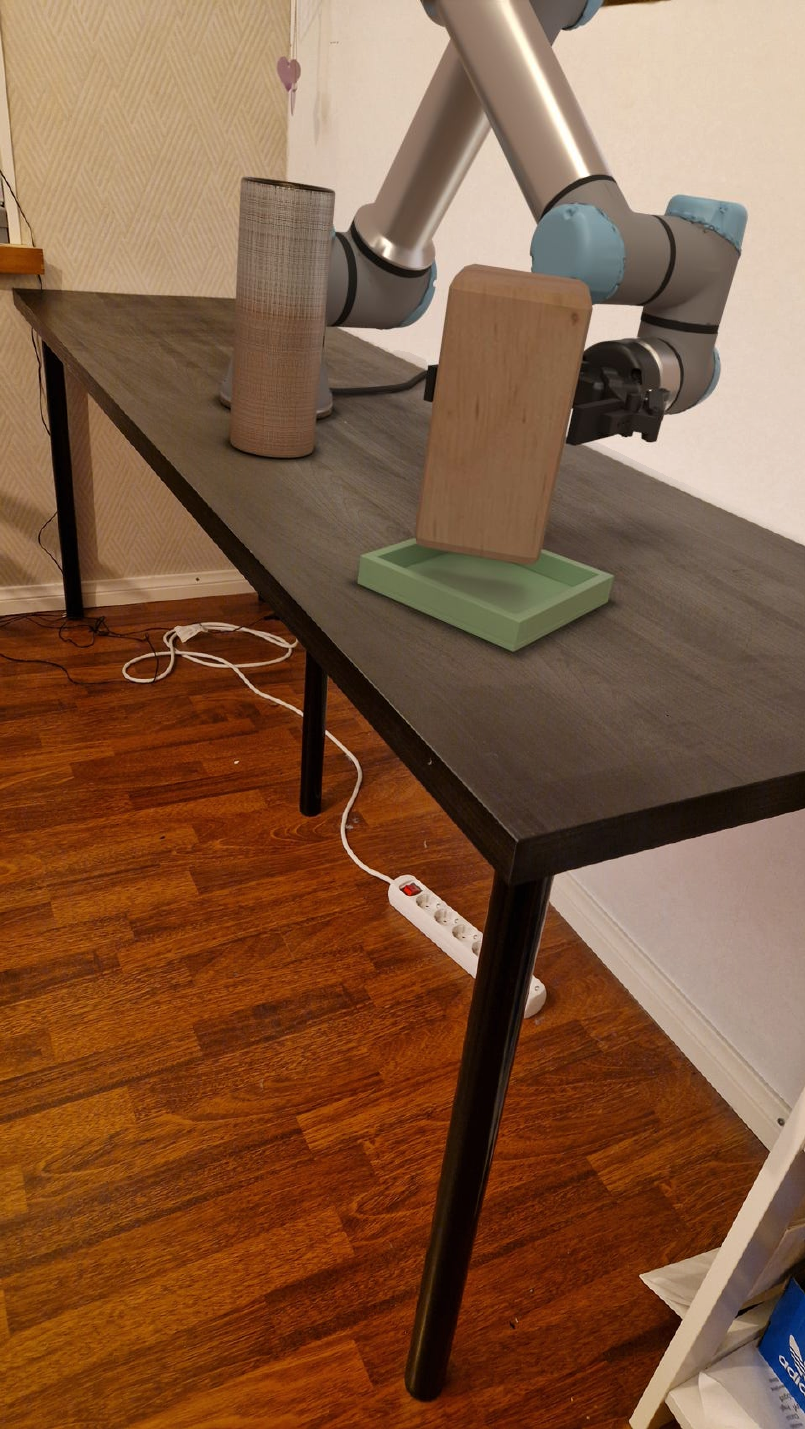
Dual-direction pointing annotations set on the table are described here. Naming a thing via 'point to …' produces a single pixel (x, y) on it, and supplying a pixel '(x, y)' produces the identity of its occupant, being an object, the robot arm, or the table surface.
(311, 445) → the vase
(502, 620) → the green serving tray
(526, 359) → the wooden block
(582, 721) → the table surface
